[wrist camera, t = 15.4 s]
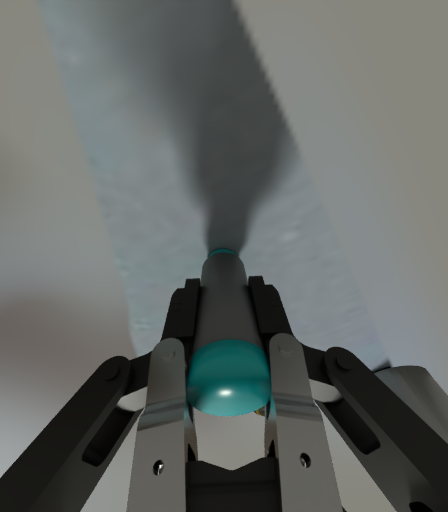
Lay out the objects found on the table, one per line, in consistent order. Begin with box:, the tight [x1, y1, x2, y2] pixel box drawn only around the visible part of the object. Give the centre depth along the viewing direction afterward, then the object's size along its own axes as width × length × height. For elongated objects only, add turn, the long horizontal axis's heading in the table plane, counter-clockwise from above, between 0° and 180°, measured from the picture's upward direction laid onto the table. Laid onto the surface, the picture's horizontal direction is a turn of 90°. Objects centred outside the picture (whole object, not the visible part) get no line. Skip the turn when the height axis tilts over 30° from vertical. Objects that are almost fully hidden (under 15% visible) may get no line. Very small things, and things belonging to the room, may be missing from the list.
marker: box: [187, 249, 271, 416], centre depth 11 cm, size 3×3×9 cm
